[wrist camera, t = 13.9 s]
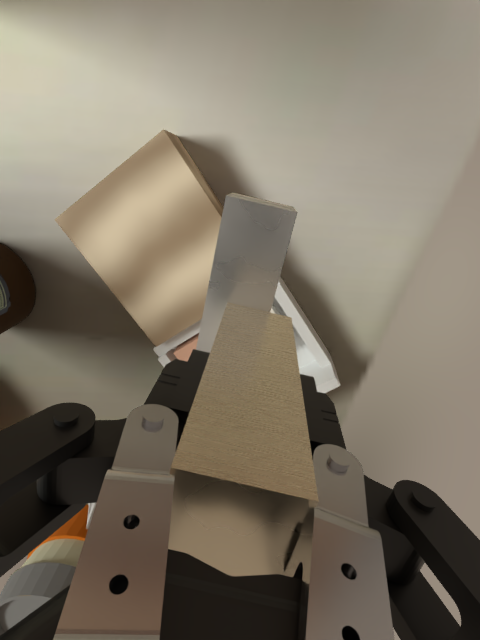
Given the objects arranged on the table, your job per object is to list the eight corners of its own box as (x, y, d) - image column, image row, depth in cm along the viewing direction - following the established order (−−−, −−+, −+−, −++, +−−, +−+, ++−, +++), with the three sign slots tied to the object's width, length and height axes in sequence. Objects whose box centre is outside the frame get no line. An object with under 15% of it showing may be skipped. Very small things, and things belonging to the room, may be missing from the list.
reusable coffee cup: (176, 492, 46) (134, 628, 32) (141, 549, 50) (91, 690, 36) (86, 451, 45) (1, 573, 31) (58, 513, 49) (-27, 644, 35)
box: (161, 336, 38) (142, 363, 32) (274, 266, 34) (274, 282, 29) (220, 412, 41) (212, 448, 35) (330, 354, 37) (340, 385, 31)
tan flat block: (78, 215, 34) (54, 219, 30) (176, 135, 31) (163, 129, 27) (167, 330, 38) (156, 347, 34) (264, 270, 34) (263, 281, 31)
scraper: (192, 395, 22) (96, 661, 10) (233, 192, 17) (148, 227, 5) (255, 410, 22) (237, 693, 10) (313, 211, 17) (408, 289, 5)
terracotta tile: (178, 344, 36) (173, 353, 35) (218, 320, 35) (215, 328, 33) (206, 381, 38) (203, 391, 36) (246, 359, 36) (244, 368, 34)
